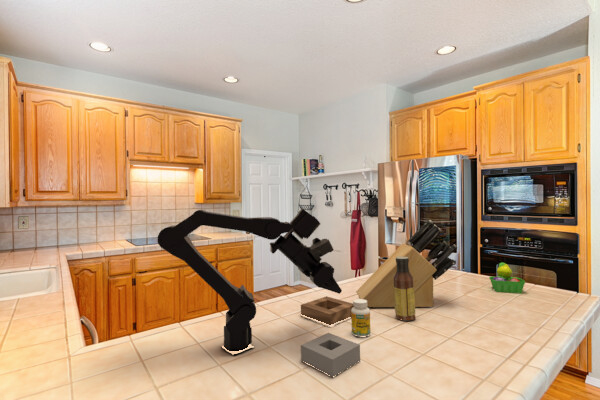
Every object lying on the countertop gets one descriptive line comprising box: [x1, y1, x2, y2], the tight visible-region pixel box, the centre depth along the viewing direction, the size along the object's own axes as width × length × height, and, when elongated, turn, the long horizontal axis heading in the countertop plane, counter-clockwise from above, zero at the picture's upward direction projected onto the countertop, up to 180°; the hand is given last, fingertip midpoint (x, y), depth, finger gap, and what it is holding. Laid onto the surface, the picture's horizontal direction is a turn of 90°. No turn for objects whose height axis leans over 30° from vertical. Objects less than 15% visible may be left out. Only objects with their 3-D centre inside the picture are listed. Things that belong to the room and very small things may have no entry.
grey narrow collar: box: [300, 332, 361, 378], centre depth 75 cm, size 10×10×4 cm
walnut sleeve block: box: [300, 296, 354, 325], centre depth 104 cm, size 13×13×4 cm
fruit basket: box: [488, 262, 526, 294], centre depth 131 cm, size 11×9×11 cm
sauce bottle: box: [394, 257, 416, 322], centre depth 102 cm, size 7×6×20 cm
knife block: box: [355, 219, 458, 308], centre depth 117 cm, size 11×35×31 cm, turn 89°
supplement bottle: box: [350, 298, 372, 337], centre depth 90 cm, size 5×5×10 cm
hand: (335, 287), depth 89 cm, fingers open, 9 cm apart
